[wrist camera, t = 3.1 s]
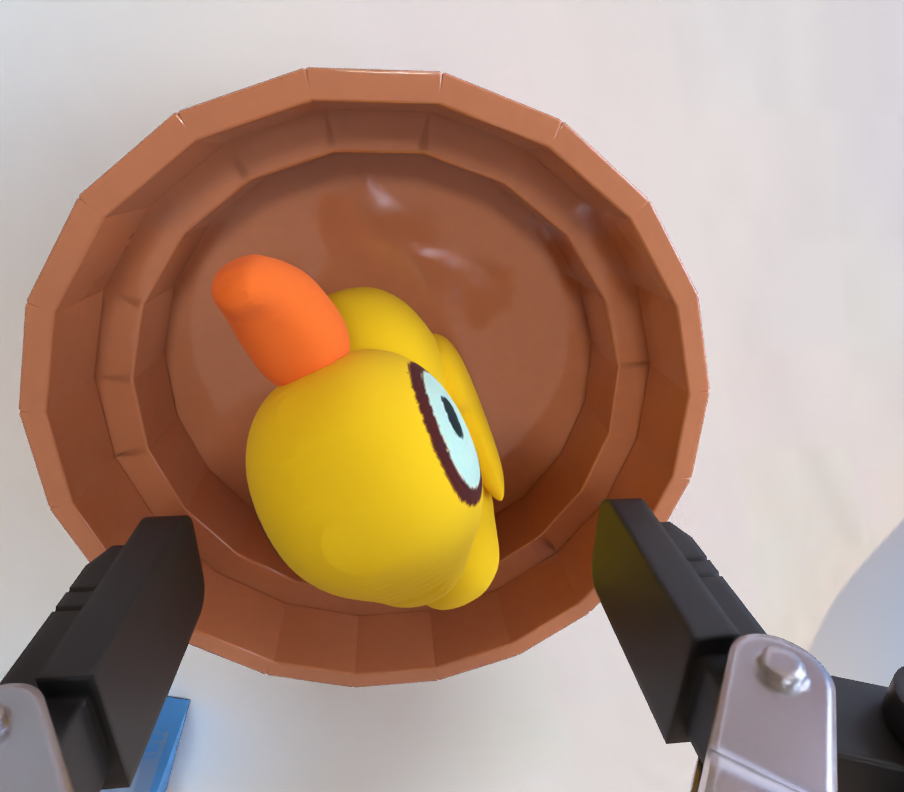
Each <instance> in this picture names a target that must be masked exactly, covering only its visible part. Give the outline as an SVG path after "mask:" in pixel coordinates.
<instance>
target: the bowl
mask: <svg viewBox="0 0 904 792" xmlns="http://www.w3.org/2000/svg"><path fill="white" fill-rule="evenodd" d="M251 254H257V255H263V256H267V257H271V258H276V259H279V260H282V261H284V262H286V263H289V264H291V265H293V266H295V267H297V268H299V269H301V270H302V271H304V272H305V273H306V274H308V275H309V276H310V277H311V278H312V279H313V280H314V281H315V282H316V283H317V284H318V285H319V286H320V288H321V289H322V290H323V291H324V292H325V294H326V295H329V294H331V293H334V292H337V291H340V290H344V289H348V288H354V287H373V288H378V289H381V290H384V291H387V292H389V293H391V294H393V295H395V296H396V297H398V298H399V299H401V300H402V301H404V302H405V303H406V304H407V305H409V306H410V307H411V308H412V309H413V310H414V311H415V312H416V313H417V314H418V316H419V317H420V318H421V319H422V320H423V322H424V323H425V324H426V325H427V327H428V328H429V330H430V331H431V333H437V334H440V335H442V336H444V337H445V338H446V339H448V340H449V341H450V342H451V343H452V345H453V346H454V347H455V349H456V350H457V351H458V353H459V355H460V356H461V358H462V360H463V362H464V364H465V366H466V368H467V371H468V373H469V375H470V378H471V380H472V383H473V385H474V388H475V390H476V392H477V395H478V397H479V400H480V403H481V405H482V408H483V411H484V414H485V416H486V419H487V422H488V424H489V427H490V430H491V433H492V436H493V438H494V441H495V444H496V447H497V451H498V454H499V457H500V461H501V465H502V470H503V476H504V497H503V499H502V501H499V500H497V499H495V498H494V497H493V496H492V500H493V507H494V516H495V523H496V530H497V537H498V544H499V565H498V569H497V572H496V574H495V577H494V579H493V580H492V582H491V584H490V585H489V587H488V588H487V590H486V591H485V592H484V593H483V594H482V595H481V596H479V597H478V598H477V599H475V600H473V601H471V602H469V603H468V604H466V605H464V606H461V607H457V608H454V609H449V610H438V609H434V608H431V607H429V606H427V605H423V606H419V607H411V608H402V607H394V606H389V605H386V604H382V603H376V602H369V601H361V600H354V599H348V598H343V597H339V596H336V595H333V594H330V593H327V592H325V591H323V590H321V589H319V588H317V587H315V586H313V585H311V584H310V583H308V582H307V581H305V580H304V579H302V578H301V577H300V576H298V575H297V574H296V573H295V572H294V571H293V570H291V569H290V568H289V567H288V566H287V565H286V563H285V562H284V561H283V560H282V559H281V558H280V557H279V555H278V554H277V553H276V551H275V550H274V549H273V547H272V546H271V544H270V542H269V541H268V539H267V537H266V536H265V534H264V532H263V530H262V528H261V526H260V524H259V521H258V519H257V517H256V514H255V511H254V508H253V505H252V502H251V498H250V494H249V490H248V484H247V477H246V446H247V440H248V435H249V431H250V428H251V425H252V422H253V419H254V417H255V415H256V413H257V411H258V409H259V408H260V406H261V404H262V403H263V402H264V400H265V399H266V398H267V397H268V395H269V394H270V393H271V392H272V391H273V390H274V389H275V388H276V387H277V385H275V384H274V383H272V382H271V381H269V380H268V379H267V378H266V377H265V376H264V375H263V374H262V373H261V372H260V370H259V369H258V368H257V367H256V365H255V364H254V363H253V361H252V360H251V358H250V357H249V355H248V354H247V352H246V351H245V350H244V348H243V347H242V345H241V344H240V342H239V340H238V339H237V337H236V335H235V333H234V332H233V330H232V328H231V327H230V325H229V323H228V322H227V320H226V318H225V317H224V315H223V314H222V312H221V311H220V309H219V308H218V307H217V305H216V304H215V302H214V300H213V297H212V293H211V287H212V282H213V279H214V277H215V275H216V273H217V272H218V271H219V270H220V269H221V268H222V267H223V266H224V265H226V264H227V263H229V262H231V261H232V260H234V259H237V258H239V257H242V256H245V255H251ZM27 302H28V303H27V304H26V307H25V322H24V338H23V353H22V369H21V384H20V400H19V410H20V417H21V420H22V423H23V426H24V429H25V432H26V436H27V439H28V442H29V445H30V448H31V451H32V454H33V458H34V461H35V464H36V467H37V470H38V473H39V476H40V479H41V483H42V486H43V489H44V492H45V495H46V498H47V501H48V504H49V507H51V508H50V510H51V511H52V513H53V514H54V515H55V517H56V518H57V519H58V521H59V522H60V523H61V525H62V526H63V527H64V529H65V530H66V531H67V533H68V534H69V535H70V537H71V538H72V539H73V541H74V542H75V543H76V545H77V546H78V547H79V549H80V550H81V551H82V553H83V554H84V555H85V557H86V558H87V559H88V561H89V562H91V561H93V560H94V559H95V558H97V557H98V556H99V555H100V554H102V553H103V552H104V551H106V550H107V549H108V548H110V547H111V546H115V545H125V543H126V542H127V540H128V539H129V537H130V536H131V534H132V533H133V531H134V530H135V529H136V527H137V526H138V524H139V523H140V521H141V520H142V519H143V518H145V517H154V516H179V515H188V516H189V517H190V518H191V519H192V522H193V525H194V530H195V535H196V540H197V545H198V550H199V555H200V560H201V565H202V570H203V575H204V582H205V594H204V602H203V607H202V611H201V614H200V617H199V619H198V621H197V624H196V626H195V629H194V631H193V634H192V636H191V639H190V641H189V643H188V644H190V645H193V646H195V647H198V648H200V649H203V650H205V651H208V652H210V653H213V654H215V655H218V656H220V657H223V658H226V659H228V660H231V661H233V662H236V663H238V664H241V665H243V666H246V667H248V668H251V669H253V670H256V671H258V672H261V673H263V674H268V675H271V676H278V677H285V678H292V679H299V680H306V681H313V682H319V683H326V684H333V685H340V686H347V687H352V686H353V687H366V686H378V685H390V684H403V683H415V682H427V681H437V680H438V679H439V680H441V679H444V678H447V677H450V676H454V675H457V674H460V673H463V672H466V671H469V670H473V669H476V668H479V667H482V666H485V665H488V664H492V663H495V662H498V661H501V660H504V659H508V658H511V657H514V656H516V655H517V654H518V655H519V654H521V653H523V652H525V651H526V650H528V649H530V648H531V647H533V646H535V645H536V644H538V643H540V642H541V641H543V640H545V639H546V638H548V637H550V636H552V635H553V634H555V633H557V632H558V631H560V630H562V629H563V628H565V627H567V626H568V625H570V624H572V623H573V622H575V621H577V620H578V619H580V618H582V617H583V616H585V615H587V614H588V613H589V611H592V610H593V609H594V608H595V607H596V606H597V605H598V604H599V603H600V599H599V597H598V595H597V593H596V590H595V587H594V584H593V579H592V570H591V562H592V554H593V547H594V541H595V534H596V527H597V520H598V514H599V508H600V504H601V502H602V501H603V500H604V499H626V498H641V499H643V500H644V501H645V502H646V504H647V505H648V506H649V508H650V509H651V511H652V512H653V513H654V515H655V516H656V517H657V519H658V520H659V522H667V521H668V519H669V517H670V515H671V513H672V512H673V510H674V508H675V506H676V504H677V503H678V501H679V499H680V497H681V496H682V494H683V492H684V490H685V488H686V487H687V485H688V483H689V481H690V478H691V476H692V472H693V467H694V463H695V458H696V453H697V449H698V444H699V439H700V434H701V430H702V425H703V420H704V416H705V411H706V406H707V402H708V397H709V391H708V390H709V380H708V372H707V364H706V356H705V348H704V339H703V331H702V323H701V315H700V307H699V299H698V296H697V291H696V289H695V288H694V286H693V284H692V282H691V280H690V278H689V276H688V274H687V272H686V270H685V268H684V266H683V264H682V262H681V260H680V258H679V256H678V254H677V252H676V250H675V248H674V246H673V244H672V242H671V241H670V239H669V237H668V235H667V233H666V231H665V229H664V227H663V225H662V223H661V221H660V219H659V217H658V215H657V213H656V211H655V209H654V207H653V205H652V203H651V202H650V201H649V200H648V198H647V197H646V196H645V195H644V194H642V193H641V192H640V191H639V190H638V189H637V188H636V187H635V186H634V185H633V184H632V183H630V182H629V181H628V180H627V179H626V178H625V177H624V176H623V175H622V174H621V173H620V172H618V171H617V170H616V169H615V168H614V167H613V166H612V165H611V164H610V163H609V162H608V161H606V160H605V159H604V158H603V157H602V156H601V155H600V154H599V153H598V152H597V151H596V150H594V149H593V148H592V147H591V146H590V145H589V144H588V143H587V142H586V141H585V140H583V139H582V138H581V137H580V136H579V135H578V134H577V133H576V132H575V131H574V130H573V129H571V128H570V127H569V126H568V125H567V124H566V123H565V122H561V120H560V119H558V118H556V117H553V116H551V115H548V114H546V113H543V112H541V111H538V110H536V109H533V108H531V107H529V106H526V105H524V104H521V103H519V102H516V101H514V100H511V99H509V98H506V97H504V96H501V95H499V94H497V93H494V92H492V91H489V90H487V89H484V88H482V87H479V86H477V85H474V84H472V83H469V82H467V81H464V80H462V79H460V78H457V77H455V76H452V75H450V74H447V73H443V74H442V73H441V72H440V71H413V70H380V69H348V68H316V67H308V68H306V70H305V69H299V70H296V71H293V72H290V73H287V74H284V75H281V76H279V77H276V78H273V79H270V80H267V81H264V82H261V83H258V84H255V85H252V86H249V87H247V88H244V89H241V90H238V91H235V92H232V93H229V94H226V95H223V96H220V97H217V98H215V99H212V100H209V101H206V102H203V103H200V104H197V105H194V106H191V107H188V108H186V109H183V110H180V111H179V112H178V113H174V114H173V115H171V116H170V117H169V118H168V119H167V120H166V121H164V122H163V123H162V124H161V125H160V126H159V127H158V128H156V129H155V130H154V131H153V132H152V133H151V134H149V135H148V136H147V137H146V138H145V139H144V140H142V141H141V142H140V143H139V144H138V145H137V146H135V147H134V148H133V149H132V150H131V151H130V152H129V153H127V154H126V155H125V156H124V157H123V158H122V159H120V160H119V161H118V162H117V163H116V164H115V165H113V166H112V167H111V168H110V169H109V170H108V171H106V172H105V173H104V174H103V175H102V176H101V177H100V178H98V179H97V180H96V181H95V182H94V183H93V184H91V185H90V186H89V187H88V188H87V189H86V190H84V191H83V192H82V193H81V194H80V195H79V198H78V199H77V200H76V202H75V204H74V206H73V208H72V210H71V213H70V215H69V217H68V219H67V221H66V223H65V225H64V227H63V229H62V231H61V233H60V235H59V237H58V239H57V241H56V243H55V245H54V247H53V249H52V251H51V253H50V255H49V257H48V259H47V261H46V263H45V265H44V267H43V269H42V271H41V273H40V275H39V277H38V279H37V281H36V283H35V285H34V287H33V289H32V291H31V293H30V295H29V297H28V299H27Z"/></svg>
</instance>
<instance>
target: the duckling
mask: <svg viewBox="0 0 904 792" xmlns="http://www.w3.org/2000/svg"><path fill="white" fill-rule="evenodd" d="M211 293H212V297H213V300H214V302H215V304H216V305H217V307H218V308H219V309H220V311H221V312H222V314H223V315H224V317H225V318H226V320H227V322H228V323H229V325H230V327H231V328H232V330H233V332H234V333H235V335H236V337H237V339H238V340H239V342H240V344H241V345H242V347H243V348H244V350H245V351H246V352H247V354H248V355H249V357H250V358H251V360H252V361H253V363H254V364H255V365H256V367H257V368H258V369H259V370H260V372H261V373H262V374H263V375H264V376H265V377H266V378H267V379H268V380H269V381H271V382H272V383H274V384H275V385H277V387H276V388H275V389H274V390H273V391H272V392H271V393H270V394H269V395H268V397H267V398H266V399H265V400H264V402H263V403H262V404H261V406H260V408H259V409H258V411H257V413H256V415H255V417H254V419H253V422H252V425H251V428H250V431H249V435H248V440H247V446H246V477H247V484H248V490H249V494H250V498H251V502H252V505H253V508H254V511H255V514H256V517H257V519H258V521H259V524H260V526H261V528H262V530H263V532H264V534H265V536H266V537H267V539H268V541H269V542H270V544H271V546H272V547H273V549H274V550H275V551H276V553H277V554H278V555H279V557H280V558H281V559H282V560H283V561H284V562H285V563H286V565H287V566H288V567H289V568H290V569H291V570H293V571H294V572H295V573H296V574H297V575H298V576H300V577H301V578H302V579H304V580H305V581H307V582H308V583H310V584H311V585H313V586H315V587H317V588H319V589H321V590H323V591H325V592H327V593H330V594H333V595H336V596H339V597H343V598H348V599H354V600H361V601H369V602H376V603H382V604H386V605H389V606H394V607H402V608H411V607H419V606H423V605H427V606H429V607H431V608H434V609H438V610H449V609H454V608H457V607H461V606H464V605H466V604H468V603H469V602H471V601H473V600H475V599H477V598H478V597H479V596H481V595H482V594H483V593H484V592H485V591H486V590H487V588H488V587H489V585H490V584H491V582H492V580H493V579H494V577H495V574H496V572H497V569H498V565H499V544H498V537H497V530H496V523H495V516H494V507H493V500H492V496H493V497H494V498H495V499H497V500H499V501H502V499H503V497H504V476H503V470H502V465H501V461H500V457H499V454H498V451H497V447H496V444H495V441H494V438H493V436H492V433H491V430H490V427H489V424H488V422H487V419H486V416H485V414H484V411H483V408H482V405H481V403H480V400H479V397H478V395H477V392H476V390H475V388H474V385H473V383H472V380H471V378H470V375H469V373H468V371H467V368H466V366H465V364H464V362H463V360H462V358H461V356H460V355H459V353H458V351H457V350H456V349H455V347H454V346H453V345H452V343H451V342H450V341H449V340H448V339H446V338H445V337H444V336H442V335H440V334H437V333H431V331H430V330H429V328H428V327H427V325H426V324H425V323H424V322H423V320H422V319H421V318H420V317H419V316H418V314H417V313H416V312H415V311H414V310H413V309H412V308H411V307H410V306H409V305H407V304H406V303H405V302H404V301H402V300H401V299H399V298H398V297H396V296H395V295H393V294H391V293H389V292H387V291H384V290H381V289H378V288H373V287H354V288H348V289H344V290H340V291H337V292H334V293H331V294H329V295H326V294H325V292H324V291H323V290H322V289H321V288H320V286H319V285H318V284H317V283H316V282H315V281H314V280H313V279H312V278H311V277H310V276H309V275H308V274H306V273H305V272H304V271H302V270H301V269H299V268H297V267H295V266H293V265H291V264H289V263H286V262H284V261H282V260H279V259H276V258H271V257H267V256H263V255H257V254H251V255H245V256H242V257H239V258H237V259H234V260H232V261H231V262H229V263H227V264H226V265H224V266H223V267H222V268H221V269H220V270H219V271H218V272H217V273H216V275H215V277H214V279H213V282H212V287H211Z"/></svg>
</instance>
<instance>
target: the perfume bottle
mask: <svg viewBox="0 0 904 792" xmlns="http://www.w3.org/2000/svg"><path fill="white" fill-rule="evenodd" d="M189 703H190V700H186V699H180V698H173V697H166V700H165V702H164V705H163V707H162V710H161V712H160V715H159V717H158V719H157V722H156V724H155V727H154V729H153V732H152V734H151V737H150V739H149V741H148V744H147V746H146V749H145V751H144V754H143V756H142V759H141V761H140V764H139V766H138V768H137V771H136V773H135V776H134V778H133V781H132V783H131V786H130V787H128V788H116V789H104V790H101V791H100V792H165V791H166V787H167V783H168V780H169V776H170V772H171V769H172V765H173V761H174V758H175V754H176V750H177V747H178V743H179V739H180V736H181V732H182V728H183V725H184V721H185V717H186V714H187V710H188V706H189Z"/></svg>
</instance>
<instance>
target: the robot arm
mask: <svg viewBox="0 0 904 792" xmlns="http://www.w3.org/2000/svg"><path fill="white" fill-rule="evenodd" d="M706 557H707V556H706V555H705V554H704V553H703V551H702V550H701V549H700V547H699V546H698V545H697V543H696V542H695V541H694V540H693V538H692V537H690V536H689V535H688V534H686V533H685V532H683V531H682V530H680V529H679V528H678V527H676V526H675V525H673V524H672V523H670V522H659V520H658V519H657V517H656V516H655V515H654V513H653V512H652V511H651V509H650V508H649V506H648V505H647V504H646V502H645V501H644V500H643V499H641V498H626V499H604V500H603V501H602V502H601V504H600V508H599V514H598V520H597V527H596V534H595V541H594V547H593V554H592V562H591V570H592V579H593V584H594V587H595V590H596V593H597V595H598V597H599V599H600V602H601V604H602V606H603V608H604V610H605V612H606V615H607V617H608V619H609V621H610V623H611V625H612V628H613V630H614V632H615V634H616V636H617V638H618V640H619V643H620V645H621V647H622V649H623V651H624V653H625V656H626V658H627V660H628V662H629V664H630V666H631V669H632V671H633V673H634V675H635V677H636V679H637V682H638V684H639V686H640V688H641V690H642V692H643V694H644V697H645V699H646V701H647V703H648V705H649V707H650V710H651V712H652V714H653V716H654V718H655V720H656V723H657V725H658V727H659V729H660V731H661V733H662V735H663V738H664V740H665V742H666V744H670V743H681V742H691V743H692V745H693V747H694V749H695V751H696V753H697V755H698V759H697V762H696V765H695V769H694V773H693V778H692V783H691V787H690V792H904V667H901V668H900V669H898V670H897V672H896V673H895V675H894V677H893V679H892V681H891V683H890V685H889V687H884V686H879V685H874V684H869V683H864V682H859V681H854V680H850V679H845V678H839V677H835V676H831V675H830V674H829V673H828V672H827V670H826V669H825V668H824V666H823V665H822V664H821V663H820V662H819V661H817V659H816V658H815V657H813V656H812V655H811V654H809V653H808V652H807V651H805V650H804V649H802V648H801V647H799V646H797V645H795V644H793V643H791V642H789V641H787V640H785V639H782V638H779V637H776V636H772V635H767V634H766V633H765V631H764V630H763V629H762V627H761V626H760V625H759V624H758V622H757V621H756V620H755V618H754V617H753V616H752V615H751V613H750V612H749V611H748V609H747V608H746V607H745V605H744V604H743V603H742V602H741V600H740V599H739V598H738V596H737V595H736V594H735V593H734V591H733V590H732V589H731V587H730V586H729V585H728V584H727V582H726V581H725V580H724V578H723V577H722V576H719V572H718V571H717V569H716V568H715V567H714V565H713V564H712V563H711V562H710V560H707V558H706ZM204 594H205V582H204V575H203V570H202V565H201V560H200V555H199V550H198V545H197V540H196V535H195V530H194V525H193V522H192V519H191V518H190V517H189V516H188V515H179V516H154V517H145V518H143V519H142V520H141V521H140V523H139V524H138V526H137V527H136V529H135V530H134V531H133V533H132V534H131V536H130V537H129V539H128V540H127V542H126V543H125V545H115V546H111V547H110V548H108V549H107V550H106V551H104V552H103V553H102V554H100V555H99V556H98V557H97V558H95V559H94V560H93V561H91V562H90V563H89V564H87V565H86V566H85V568H84V569H83V570H82V572H81V573H80V574H79V576H78V577H77V579H76V580H75V581H74V583H73V584H72V585H71V587H70V591H69V592H67V593H66V594H65V595H64V596H63V598H62V599H61V600H60V602H59V603H58V605H57V606H56V611H55V612H52V613H51V614H50V616H49V617H48V618H47V620H46V621H45V622H44V624H43V625H42V626H41V628H40V629H39V631H38V632H37V633H36V635H35V636H34V637H33V639H32V640H31V642H30V643H29V644H28V646H27V647H26V648H25V650H24V651H23V652H22V654H21V655H20V657H19V658H18V659H17V661H16V662H15V663H14V665H13V666H12V668H11V669H10V670H9V672H8V673H7V674H6V676H5V677H4V679H3V680H2V681H1V683H0V792H100V791H101V790H104V789H116V788H128V787H130V786H131V783H132V781H133V778H134V776H135V773H136V771H137V768H138V766H139V764H140V761H141V759H142V756H143V754H144V751H145V749H146V746H147V744H148V741H149V739H150V737H151V734H152V732H153V729H154V727H155V724H156V722H157V719H158V717H159V715H160V712H161V710H162V707H163V705H164V702H165V700H166V697H167V695H168V692H169V690H170V688H171V685H172V683H173V680H174V678H175V675H176V673H177V670H178V668H179V666H180V663H181V661H182V658H183V656H184V653H185V651H186V648H187V646H188V643H189V641H190V639H191V636H192V634H193V631H194V629H195V626H196V624H197V621H198V619H199V617H200V614H201V611H202V607H203V602H204Z"/></svg>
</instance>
